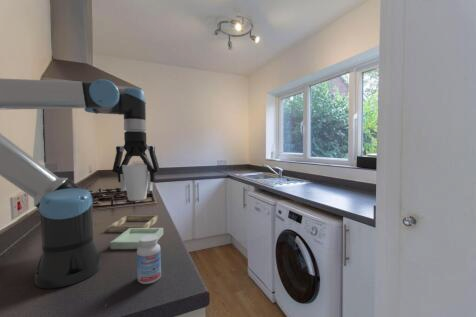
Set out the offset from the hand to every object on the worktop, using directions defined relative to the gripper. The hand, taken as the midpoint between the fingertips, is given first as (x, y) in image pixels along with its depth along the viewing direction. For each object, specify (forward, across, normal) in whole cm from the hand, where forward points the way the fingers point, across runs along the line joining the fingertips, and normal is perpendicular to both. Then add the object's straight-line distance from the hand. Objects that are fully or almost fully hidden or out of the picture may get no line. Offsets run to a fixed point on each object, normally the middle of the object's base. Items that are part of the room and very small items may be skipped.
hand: (137, 190), depth 86 cm
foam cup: (+3, 0, 0) cm, 3 cm away
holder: (+19, +9, -17) cm, 27 cm away
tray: (+19, 0, 0) cm, 19 cm away
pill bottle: (+20, -14, +25) cm, 35 cm away
